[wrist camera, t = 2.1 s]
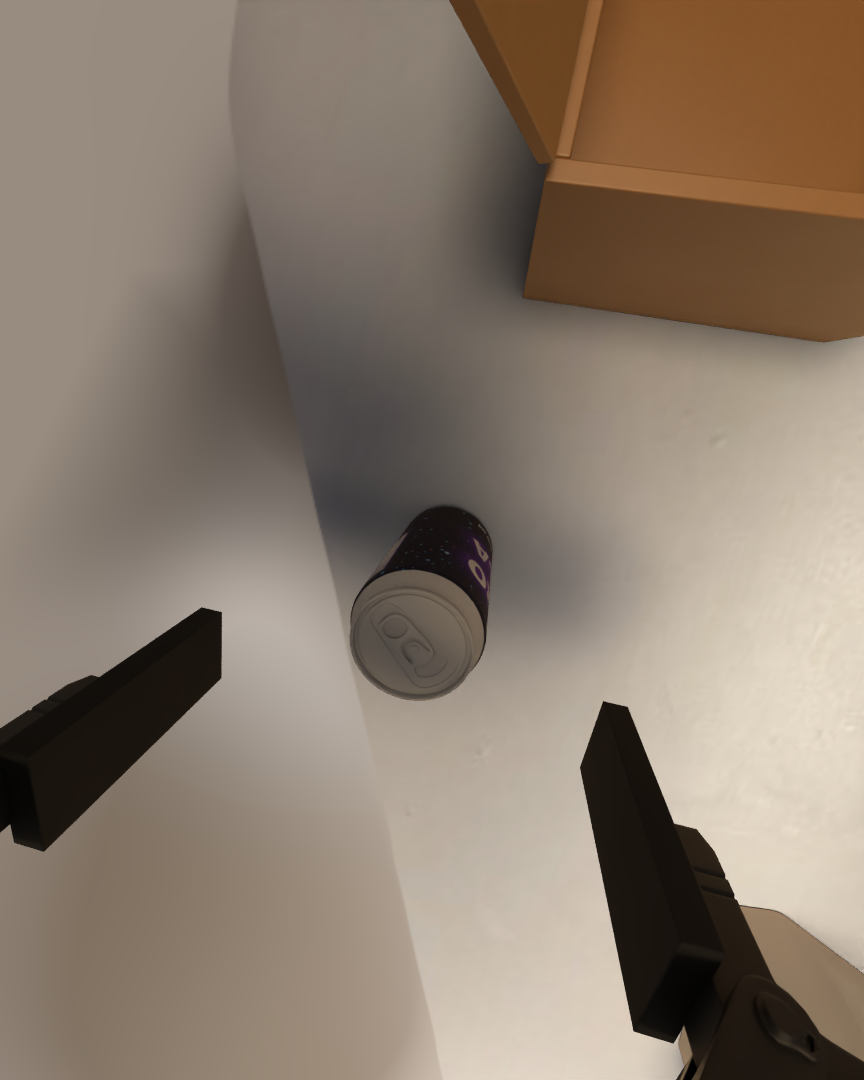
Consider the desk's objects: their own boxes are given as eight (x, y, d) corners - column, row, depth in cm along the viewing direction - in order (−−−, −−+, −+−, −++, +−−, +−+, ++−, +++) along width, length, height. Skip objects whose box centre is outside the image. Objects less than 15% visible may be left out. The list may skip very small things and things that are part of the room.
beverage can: (443, 603, 29) (405, 731, 18) (386, 540, 29) (310, 633, 17) (511, 554, 28) (515, 662, 16) (452, 484, 27) (415, 549, 16)
